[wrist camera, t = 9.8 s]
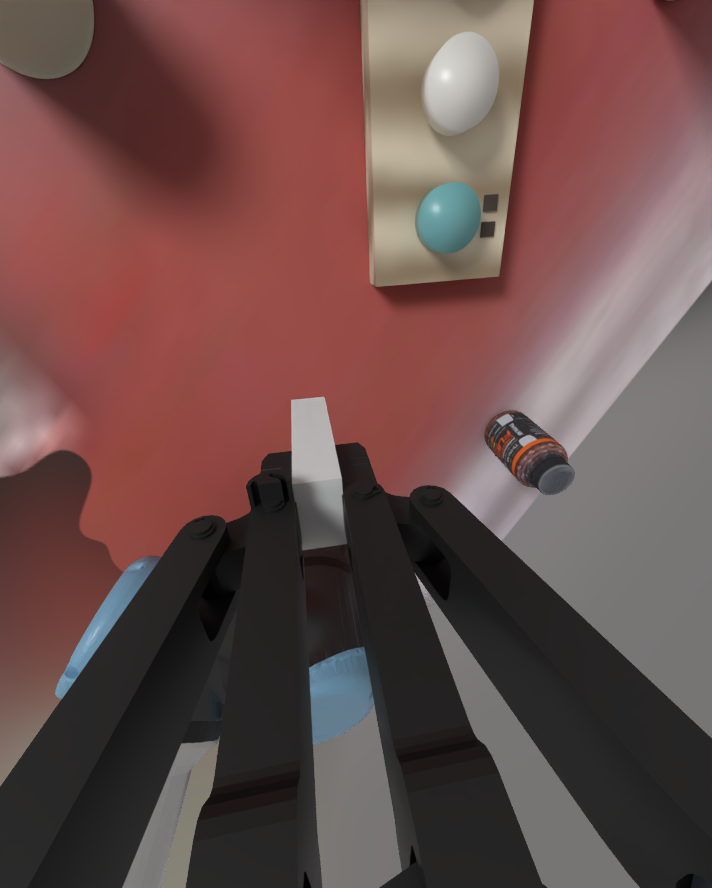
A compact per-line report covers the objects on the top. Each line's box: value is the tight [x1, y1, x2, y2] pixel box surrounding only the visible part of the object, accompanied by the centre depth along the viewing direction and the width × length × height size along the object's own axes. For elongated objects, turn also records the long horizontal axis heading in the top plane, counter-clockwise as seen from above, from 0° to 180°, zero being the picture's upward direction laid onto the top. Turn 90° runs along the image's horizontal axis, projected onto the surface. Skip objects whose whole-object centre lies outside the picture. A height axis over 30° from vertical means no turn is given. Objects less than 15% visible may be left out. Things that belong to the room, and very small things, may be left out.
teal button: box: [415, 182, 481, 253], centre depth 31 cm, size 5×5×2 cm
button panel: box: [360, 0, 534, 287], centre depth 30 cm, size 26×12×3 cm, turn 4°
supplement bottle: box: [485, 411, 575, 495], centre depth 43 cm, size 6×6×11 cm
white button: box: [421, 32, 499, 136], centre depth 26 cm, size 5×5×2 cm
